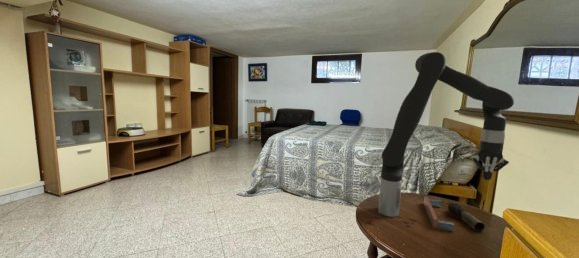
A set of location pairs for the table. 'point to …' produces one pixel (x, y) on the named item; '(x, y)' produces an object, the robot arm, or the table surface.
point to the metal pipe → (465, 216)
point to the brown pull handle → (432, 216)
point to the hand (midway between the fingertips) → (486, 179)
